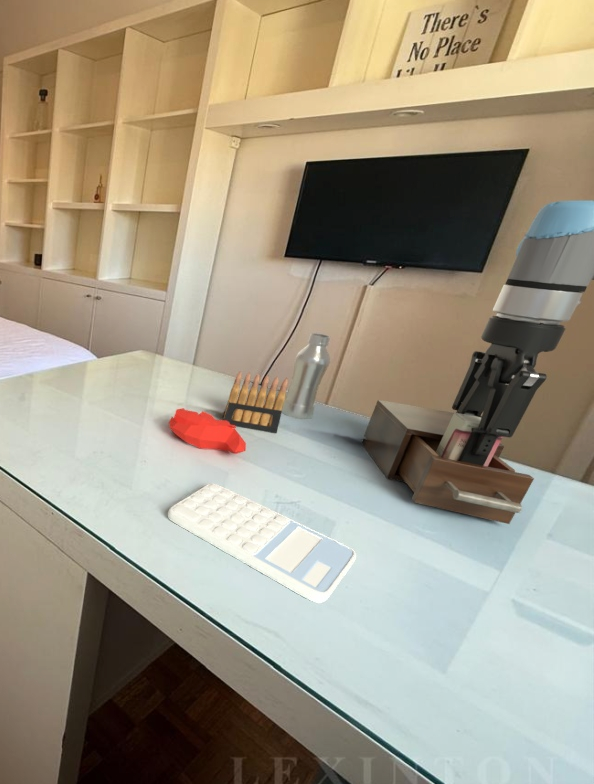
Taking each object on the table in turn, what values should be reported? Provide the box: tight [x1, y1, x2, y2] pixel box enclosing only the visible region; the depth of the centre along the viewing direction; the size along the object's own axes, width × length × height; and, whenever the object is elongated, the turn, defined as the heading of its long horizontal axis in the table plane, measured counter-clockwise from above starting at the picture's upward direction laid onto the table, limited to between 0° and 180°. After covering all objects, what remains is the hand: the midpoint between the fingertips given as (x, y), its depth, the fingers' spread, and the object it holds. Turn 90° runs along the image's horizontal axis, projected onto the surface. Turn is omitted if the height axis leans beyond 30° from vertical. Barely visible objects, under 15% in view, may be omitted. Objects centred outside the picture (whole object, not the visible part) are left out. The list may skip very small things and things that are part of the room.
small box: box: [436, 412, 504, 467], centre depth 71 cm, size 5×4×8 cm
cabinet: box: [360, 399, 505, 483], centre depth 84 cm, size 16×13×10 cm
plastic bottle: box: [281, 333, 331, 420], centre depth 100 cm, size 6×7×20 cm
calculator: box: [167, 483, 357, 604], centre depth 61 cm, size 13×20×2 cm, turn 40°
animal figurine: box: [168, 407, 247, 455], centre depth 88 cm, size 12×15×5 cm
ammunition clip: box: [221, 371, 289, 434], centre depth 96 cm, size 11×2×12 cm, turn 72°
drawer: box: [397, 434, 535, 525], centre depth 73 cm, size 19×12×8 cm, turn 157°
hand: (459, 463), depth 72 cm, fingers closed on small box, 4 cm apart
